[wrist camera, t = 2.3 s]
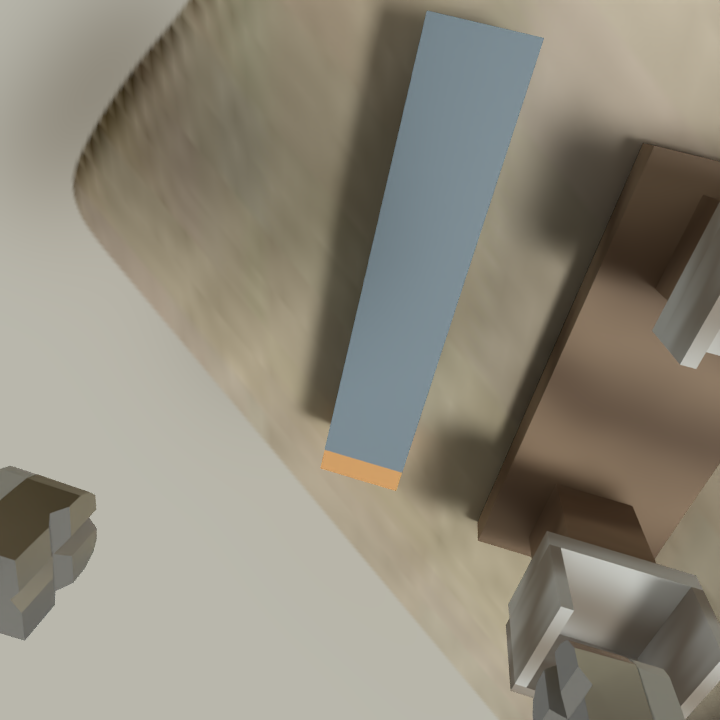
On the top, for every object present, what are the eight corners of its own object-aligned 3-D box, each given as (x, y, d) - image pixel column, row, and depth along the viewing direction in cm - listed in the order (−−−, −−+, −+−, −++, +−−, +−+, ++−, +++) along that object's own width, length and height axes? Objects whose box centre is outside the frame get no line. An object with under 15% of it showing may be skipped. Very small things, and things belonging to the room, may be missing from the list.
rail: (433, 26, 21) (426, 10, 18) (531, 49, 21) (543, 38, 17) (337, 426, 30) (320, 468, 27) (404, 445, 30) (396, 490, 27)
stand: (643, 143, 22) (764, 167, 13) (868, 198, 21) (1161, 265, 12) (477, 522, 31) (481, 685, 23) (627, 567, 31) (691, 753, 22)
